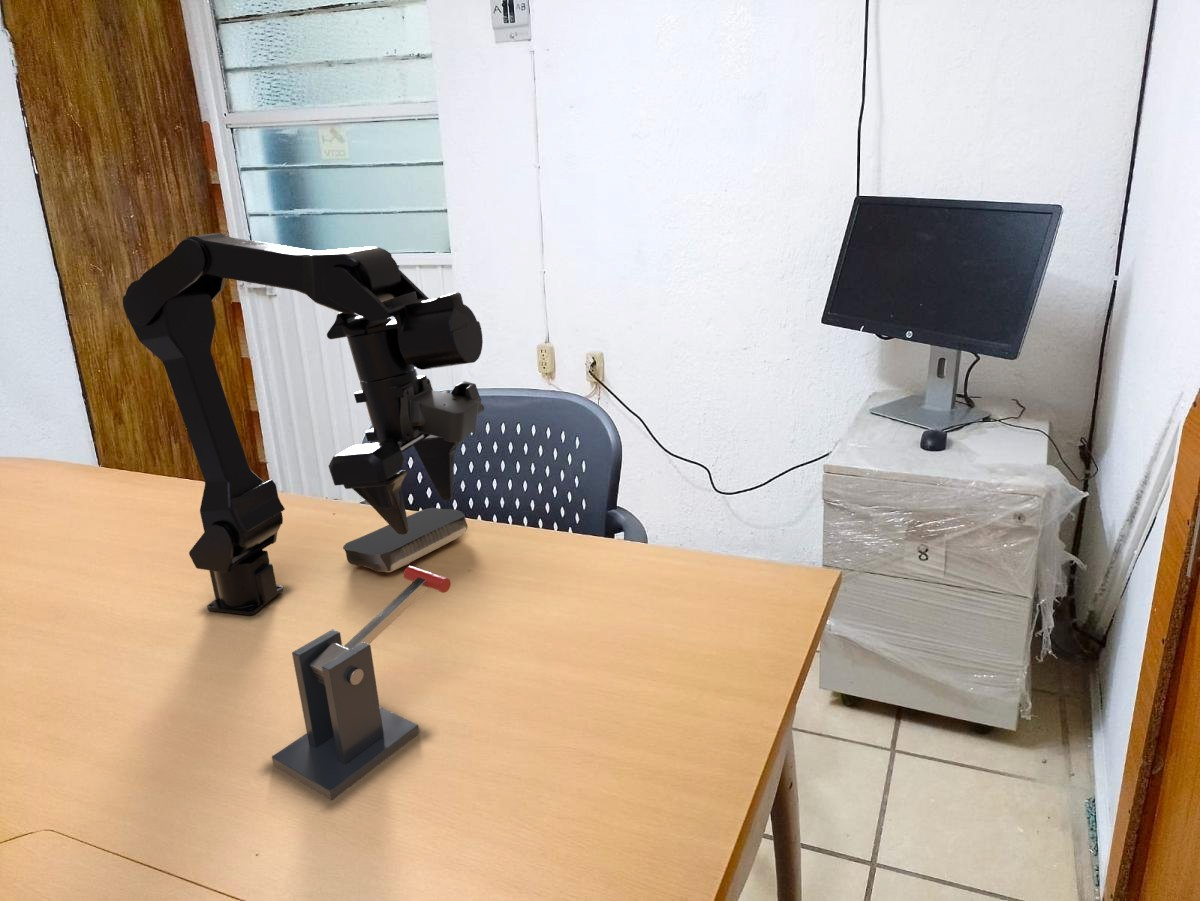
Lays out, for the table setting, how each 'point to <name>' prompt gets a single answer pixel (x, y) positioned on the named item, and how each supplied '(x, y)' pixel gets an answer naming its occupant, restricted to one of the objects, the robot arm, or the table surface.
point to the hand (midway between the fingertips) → (426, 515)
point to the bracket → (340, 720)
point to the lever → (385, 615)
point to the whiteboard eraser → (406, 540)
